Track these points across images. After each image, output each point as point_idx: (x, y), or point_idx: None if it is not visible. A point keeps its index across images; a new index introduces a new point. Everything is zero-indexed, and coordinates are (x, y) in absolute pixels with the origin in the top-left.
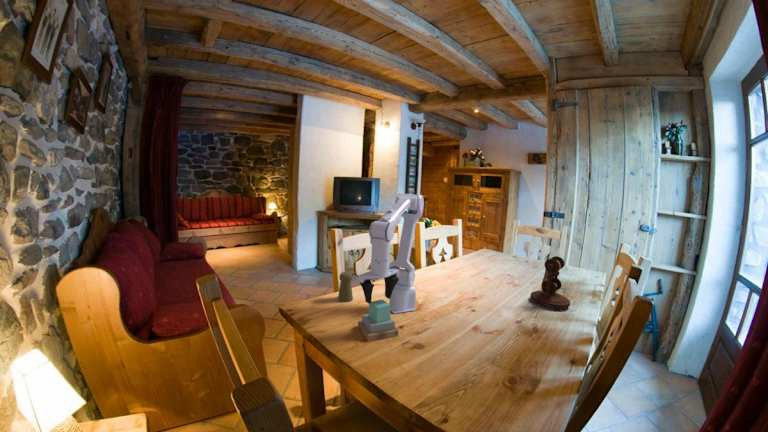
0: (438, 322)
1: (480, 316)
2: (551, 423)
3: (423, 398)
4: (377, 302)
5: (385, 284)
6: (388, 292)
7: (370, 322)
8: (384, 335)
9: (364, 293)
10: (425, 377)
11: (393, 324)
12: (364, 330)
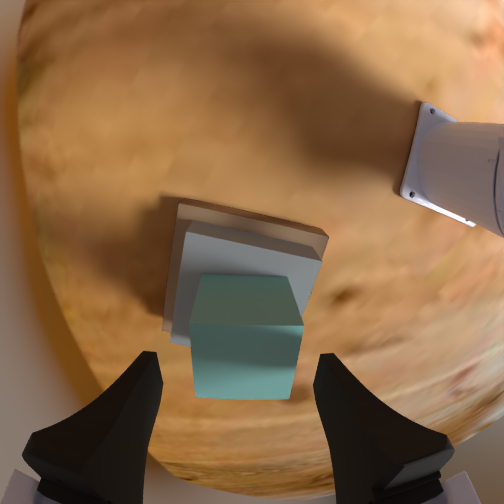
0: (446, 324)
1: None
2: (293, 500)
3: (184, 462)
4: (240, 349)
5: (354, 418)
6: (326, 410)
7: (181, 321)
8: None
9: (114, 388)
10: (220, 449)
11: None
12: (167, 287)
